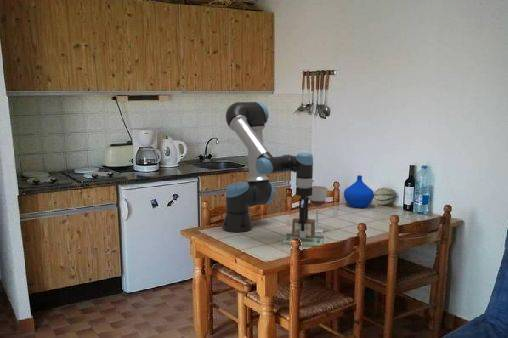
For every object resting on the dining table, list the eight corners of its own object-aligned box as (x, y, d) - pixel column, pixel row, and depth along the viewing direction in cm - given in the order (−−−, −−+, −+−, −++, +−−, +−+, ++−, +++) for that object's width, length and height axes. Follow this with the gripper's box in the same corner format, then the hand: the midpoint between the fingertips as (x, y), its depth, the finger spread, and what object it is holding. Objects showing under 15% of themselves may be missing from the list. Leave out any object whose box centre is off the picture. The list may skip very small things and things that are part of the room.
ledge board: (281, 244, 212) (282, 240, 212) (286, 236, 223) (286, 233, 223) (321, 247, 208) (321, 243, 207) (323, 239, 219) (323, 236, 218)
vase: (367, 211, 272) (369, 179, 269) (338, 207, 282) (339, 176, 279) (377, 205, 287) (379, 175, 284) (349, 201, 297) (350, 172, 294)
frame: (292, 236, 214) (292, 220, 213) (293, 234, 218) (293, 218, 217) (313, 238, 212) (313, 221, 210) (314, 236, 216) (314, 219, 214)
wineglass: (321, 234, 228) (323, 190, 224) (304, 230, 233) (305, 188, 229) (328, 229, 235) (330, 187, 231) (311, 226, 240) (312, 185, 236)
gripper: (309, 190, 202) (309, 241, 206) (314, 183, 218) (313, 231, 222) (293, 190, 204) (292, 240, 207) (299, 182, 220) (298, 229, 224)
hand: (303, 235), depth 215 cm, fingers closed on frame, 4 cm apart
